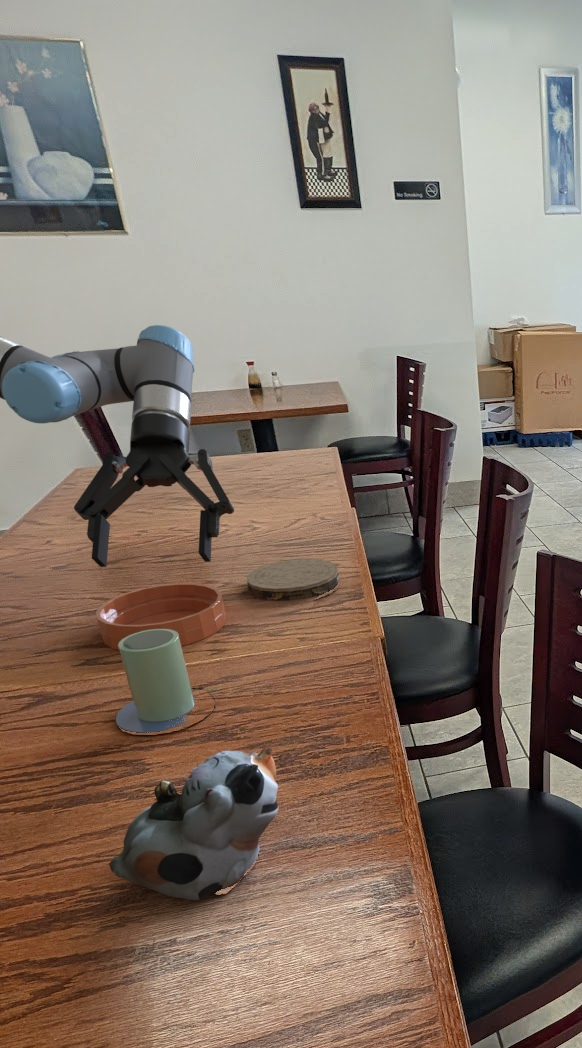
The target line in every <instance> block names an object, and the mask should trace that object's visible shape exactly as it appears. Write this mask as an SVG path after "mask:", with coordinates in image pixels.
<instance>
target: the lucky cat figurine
mask: <svg viewBox="0 0 582 1048" xmlns="http://www.w3.org/2000/svg"><path fill="white" fill-rule="evenodd" d="M272 751H273V749H272V746H271V745H269V746H267V747H264V748H262V750H261V751H260V752H259V753H257V752H255V751H253V752H251V753H249V752H245V751H241V750H223V751H220V752H217V753H215V754H213V755H212V756H210V757H208V758H206V759H205V760H204V761H203V762H200V764H197V765H196V766H195V767H193V769H192V771H191V773H190V774H189V776H188V777H187V778H186V780H185V783H184V786H183V787H182V790H181V794H180V793H178V790H177V789H176V787H175V786H174V784H173V783H172V782H171V781H168V780H160V781H159V783H158V784H157V785H156V786H155V787H154V791H153V793H154V796H155V799H156V801H155V802H154V803H152V805H150V806H147V807H146V808H145V809H143V811H141V812H140V813H139V814H137V815H136V816H135V817H134V818H133V820H132V821H131V823H130V824H129V826H128V827H127V830H126V832H125V835H124V839H123V849H122V851H121V852H120V853H119V854H118V855H117V856H114V857H113V858H112V860H110V861H109V863H108V866H109V868H110V871H111V872H112V873H113V874H114V875H115V876H116V877H119V878H121V879H123V880H125V881H128V882H130V883H132V884H135V885H138V886H140V887H143V888H145V889H148V890H150V891H151V890H152V891H155V892H158V893H160V894H161V895H164V896H167V897H173V898H177V899H178V898H179V899H184V900H190V901H200V900H203V899H204V898H206V896H208V895H209V894H211V893H212V894H213V895H215V893H216V892H217V891H219V890H221V889H225V888H227V887H231V886H233V885H234V884H236V883H238V882H239V881H240V879H241V878H242V877H243V876H244V874H245V873H246V871H247V869H249V868H250V867H251V866H252V865H253V863H254V862H255V861H256V859H257V856H258V854H259V855H260V852H259V851H261V849H260V846H259V839H260V838H261V836H262V835H263V833H264V832H265V830H266V829H267V828H268V826H269V825H270V824H271V822H272V821H273V820H274V819H275V817H276V816H277V814H278V811H279V805H278V801H277V794H278V789H279V785H278V783H277V781H276V779H277V767H276V763H275V760H274V758H273V756H272V755H271V754H272ZM240 882H241V881H240ZM240 882H239V883H240Z"/></svg>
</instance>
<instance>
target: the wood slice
mask: <svg viewBox="0 0 582 1048" xmlns="http://www.w3.org/2000/svg"><path fill="white" fill-rule="evenodd" d="M339 582H340V575H339V569H338V567H337V565H336V564H335V563H334V562H333V563H332V562H331V561H327V560H324V559H315V558H298V559H297V558H295V559H287V560H281V561H275V562H272V563H267V564H265V565H262V566H260V567H257V568H255V569H253V570H252V571H250V572H249V573H248V574H247V575H246V583H247V589H248V593H249V594H250V595H251V596H252V597H253V598H255V599H259V600H263V601H270V602H271V601H272V602H290V601H298V600H304V599H310V598H314V597H317V596H319V595H322V594H324V593H326V592H329V591H330V590H332V589H334V588H335V587H336V586H337V585H338V583H339ZM340 583H341V582H340Z"/></svg>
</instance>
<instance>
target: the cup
mask: <svg viewBox="0 0 582 1048" xmlns="http://www.w3.org/2000/svg"><path fill="white" fill-rule="evenodd" d="M118 647H119V650H118V651H119V654H120V659H121V661H122V665H123V669H124V673H125V676H126V680H127V683H128V687H129V691H130V694H131V698H132V701H133V702H134V705H135V709H136V712H137V716H138V717H139V718H140V719H141V720H144V721H148V722H161V721H167V720H171V719H175V718H178V717H180V716H183V715H184V714H186V713H188V712H189V711H191V710H192V709H193V707H194V705H195V701H194V697H193V693H192V688H193V687H192V684H191V680H190V677H189V676H190V675H189V673H188V667H187V664H186V659H185V656H184V655H185V654H184V652H183V646H181V642H180V638H179V634H178V633H177V632H176V631H174V630H170V629H152V630H145V631H141V632H137V633H134V634H132V635H129V636H127V637H125V638H124V639H122V640H121V641H120V642H119V644H118Z"/></svg>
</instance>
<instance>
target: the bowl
mask: <svg viewBox="0 0 582 1048" xmlns="http://www.w3.org/2000/svg"><path fill="white" fill-rule="evenodd" d="M94 614H95V618H96V621H97V625H98V628H99V632H100V635H101V639H102V641H103V644H104V645H105V646H107V647H109V648H111V649H113V650H117V651H119V647H118V644H119V642H120V641H121V640H122V639H124V638H125V637H127V636H129V635H132V634H134V633H137V632H141V631H145V630H152V629H170V630H174V631H176V632H177V633H178V634H179V638H180V642H181V647H183V646H187V645H191V644H193V643H196V642H199V641H202V640H204V639H206V638H209V637H210V636H212V635H215V634H216V633H217V632H219V631H220V630H221V629H222V628H223V627H224V626H225V625H226V622H227V618H228V617H227V612H226V608H225V602H224V598H223V594H222V593H221V591H220V590H219V588H216V587H214V586H211V585H208V584H201V583H187V582H185V583H168V584H159V585H154V586H147V587H143V588H138V589H136V590H133V591H129V592H125V593H122V594H120V595H117V596H115V597H113V598H110V599H109V600H107V601H106V602H104V603H103V604H101V605H100V606H99V607H98V609H97V610H96V611H95V613H94Z"/></svg>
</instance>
